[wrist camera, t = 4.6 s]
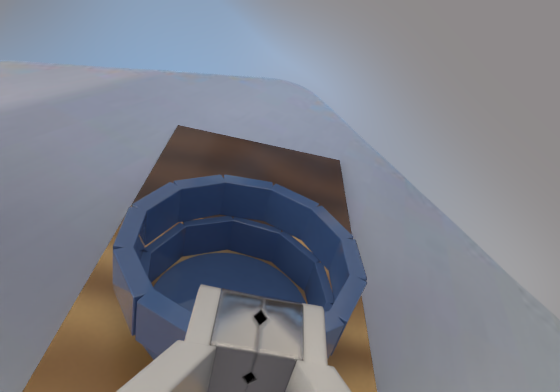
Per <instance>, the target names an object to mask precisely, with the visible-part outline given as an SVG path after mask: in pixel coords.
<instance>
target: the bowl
mask: <svg viewBox="0 0 560 392" xmlns="http://www.w3.org/2000/svg"><path fill="white" fill-rule="evenodd" d="M318 205H319V203H317V202H315V201H313V200H310V199H308V198H306V197H304V196H302V195H300V194H298V193H296V192H293V191H291V190H289V189H287V188H285V187H283V186H281V185H279V184H275V185H273V183H272V182H269V181H263V180H256V179H250V178H244V177H238V176H232V175H226V174H225V175H224V178H223V177H222V175H212V176H205V177H197V178H190V179H182V180H175V181H174V182H173V183H172V182H169V183H167V184H165V185H164V186H162V187H160V188H159V189H157V190H155V191H153V192H152V193H150V194H148V195H147V196H145V197H143V198H142V199H140V200H138V201H137V202H135V203H133V204H132V207H129V209H128V211H127V213H126V216H125V218H124V220H123V223H122V225H121V227H120V230H119V232H118V235H117V237H116V239H115V242H114V244H113V290H114V292H115V295H116V297H117V300H118V302H119V305H120V307H121V310H122V312H123V315H124V317H125V320H126V322H127V325H128V327H129V330H130V333H131V335H132V336H134V335H135V340H136V341H137V342H139V343H140V344H142V345H143V347H144V348H145V349H146V351H147V352H148V353H149V355H150V356H151V357H152V359H153V360H154V359H156V358H157V357H158V356H159V355H160V354H162V353H163V352H164V351H165V350H166V349H168V348H169V347H170V346H171V345H172V344H174V343H175V342H176V341H177V340H182V341H184V340H185V336H186V333H187V329H188V326H189V322H190V318H191V315H192V311H193V307H194V304H195V300H196V296H197V293H198V289H199V287H200V285H201V284H202V285H207V286H212V287H217V288H221V291H222V288H224V289H228V290H233V291H238V292H243V293H248V294H252V295H257V296H265V297H271V298H277V299H282V300H288V301H294V302H300V303H301V304H302V303H305V304H306V302H305V300H304V298H303V296H302V294H301V293H300V291H299V290H298V288H297V287H296V286H295V285H294V283H293V282H295V283H296V284H297V285H298V286H299V287H300V288H301V289H302V290H304V292H305V296H306V300H307V303H308V304H311V305H317V306H322V307H323V309H324V316H325V331H326V346H327V359H329V357H330V356H332V355H333V353H334V351H335V349H336V347H337V345H338V343H339V341H340V338H341V336H342V334H343V332H344V330H345V328H346V326H347V324H348V322H349V320H350V318H351V316H352V314H353V312H354V310H355V308H356V306H357V304H358V301H359V299H360V297H361V295H362V293H363V291H364V289H365V286H366V284H367V282H366V280H367V277H366V273H365V270H364V267H363V263H362V260H361V257H360V253H359V250H358V246H357V243H356V240H354V239H353V236H352V235H351V234H350V233H349V232H348V231H347V230H346V229H345V228H344V227H343V226H342V225H341V224H340V223H339V222H338V221H337V220H336V219H335V218H334V217H333V216H332V215H331V214H330V213H329V212H328V211H327V210H326V209H325V208H324V207H323V206H318ZM215 215H225V216H222V217H213V218H205V219H199V218H204V217H210V216H215ZM232 217H234V218H232ZM244 218H246V219H244ZM194 219H197V220H194ZM248 219H252V220H259V221H264V222H266V223H268V224H270V225H272V226H270V225H266V224H262V223H259V222H255V221H252V220H248ZM178 222H183V224H182V223H178ZM176 223H178V224H177V225H175V224H176ZM174 225H175V226H174ZM172 226H174V227H173V228H171V227H172ZM273 226H274V227H273ZM170 228H171V229H170ZM168 229H170V230H168ZM167 230H168V231H167ZM281 230H282V232H281ZM165 231H167V232H166V233H164V232H165ZM163 233H164V234H163ZM161 234H163V235H162V236H160V235H161ZM291 235H292V236H294V237H296V238H298V239H300V240H302V241H303V243H304V244H305V245H306V246H307V247H308V248H309V249H310V251H309V250H308V249H307V248H306V247H305V246H303V245H302V244H301V243H300V242H298V241H297V240H296V239H295V238H294V237H292V236H291ZM158 236H160V237H159V238H157V237H158ZM156 238H157V239H156ZM154 239H156V240H155V241H153V240H154ZM152 241H153V242H152ZM150 242H152V243H151V244H149V243H150ZM147 244H149V245H148V246H146V245H147ZM145 246H146V247H145ZM222 250H231V251H234V252H238V253H241V254H245V255H248V256H245V255H240V254H234V253H210V252H216V251H222ZM203 253H208V254H203ZM197 254H203V255H198V256H194V257H191V258H188V259H186V260H184V261H181V262H179V263H178V264H176V265H174V266H173V267H171V266H172V265H173V264H174V263H176V262H177V261H178V260H179V259H180V258H182V257H185V256H191V255H197ZM249 256H252V257H249ZM253 257H256V258H259V259H263V260H266V261H270V262H272V263H273V264H274V265H275V266H277V267H278V268H279V269H280V270H281V271H282V272H283V273H284V274H286V275H287V276H288V277H289V278H290V279H291V280H292V281H293V282H292V281H291V280H290V279H289V278H288V277H287V276H285V275H284V274H283V273H282V272H280V271H279V270H278V269H276V268H274V267H273V266H271V265H269V264H267V263H265V262H263V261H261V260H258V259H255V258H253ZM324 266H325V267H326V269H327V270H328V271H329V276H330V282H331V286H330V283H329V280H328V277H327V274H326V271H325V268H324ZM170 267H171V268H170ZM168 268H170V269H169V270H167V269H168ZM166 270H167V271H166ZM165 271H166V272H165ZM164 272H165V273H164ZM162 273H164V274H163V275H162V276H161V277H160V278H159V279H158V281H157V282H156V283H155V285H154V287H153V286H152V282H153V281H154V280H155V279H156V278H158V277H159V276H160V275H161V274H162ZM331 287H332V289H331ZM220 296H221V294H220Z"/></svg>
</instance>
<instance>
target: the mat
mask: <svg viewBox="0 0 560 392" xmlns="http://www.w3.org/2000/svg"><path fill="white" fill-rule="evenodd" d="M225 174H226V175H232V176H238V177H244V178H250V179H256V180H263V181H269V182H272V183H273V185H275V184H279V185H281V186H283V187H285V188H287V189H289V190H291V191H293V192H296V193H298V194H300V195H302V196H304V197H306V198H308V199H310V200H313V201H315V202H317V203H319V205H318V206H323V207H324V208H325V209H326V210H327V211H328V212H329V213H330V214H331V215H332V216H333V217H334V218H335V219H336V220H337V221H338V222H339V223H340V224H341V225H342V226H343V227H344V228H345V229H346V230H347V231H348V232H349V233H350V234H351V228H350V222H349V216H348V210H347V203H346V197H345V191H344V185H343V179H342V173H341V166H340V160H336V159H331V158H327V157H322V156H317V155H313V154H308V153H304V152H299V151H294V150H290V149H285V148H281V147H276V146H271V145H267V144H262V143H258V142H253V141H249V140H244V139H239V138H235V137H230V136H226V135H221V134H216V133H212V132H207V131H203V130H198V129H193V128H189V127H184V126H180V125H178V126H177V128H176V130H175V131H174V133H173V135H172V137H171V138H170V140H169V142H168V143H167V145H166V147H165V149H164V150H163V152H162V154H161V155H160V157H159V159H158V161H157V162H156V164H155V166H154V167H153V169H152V171H151V173H150V174H149V176H148V178H147V179H146V181H145V183H144V185H143V186H142V188H141V190H140V191H139V193H138V195H137V196H136V198H135V200H134V202H133V203H135V202H137V201H138V200H140V199H142V198H143V197H145V196H147V195H148V194H150V193H152V192H153V191H155V190H157V189H159V188H160V187H162V186H164V185H165V184H167V183H169V182H172V183H173V182H174V181H175V180H182V179H190V178H197V177H205V176H212V175H222V177H223V178H224V175H225ZM133 203H132V204H133ZM222 216H225V215H215V216H210V217H204V219H205V218H213V217H222ZM232 218H234V217H232ZM244 219H246V218H244ZM248 220H252V219H248ZM252 221H255V222H259V223H262V224H266V225H270V224H268V223H266V222H264V221H259V220H252ZM270 226H272V225H270ZM273 227H274V226H273ZM281 232H282V230H281ZM351 235H352V234H351ZM291 236H292V235H291Z"/></svg>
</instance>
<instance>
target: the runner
mask: <svg viewBox="0 0 560 392" xmlns="http://www.w3.org/2000/svg"><path fill="white" fill-rule="evenodd" d="M131 207H132V205H131ZM125 216H126V215H125ZM124 218H125V217H124ZM199 219H204V218H199ZM123 220H124V219H123ZM194 220H197V219H194ZM122 223H123V221H122V222H121V224H120V226H119V227H118V229H117V231H116V233H115V234H114V236H113V238H112V239H111V241H110V243H109V244H108V246H107V248H106V250H105V251H104V253H103V255H102V256H101V258H100V260H99V262H98V263H97V265H96V267H95V268H94V270H93V272H92V274H91V275H90V277H89V279H88V280H87V282H86V284H85V286H84V287H83V289H82V291H81V292H80V294H79V296H78V298H77V299H76V301H75V303H74V304H73V306H72V308H71V310H70V311H69V313H68V315H67V316H66V318H65V320H64V322H63V323H62V325H61V327H60V328H59V330H58V332H57V334H56V335H55V337H54V339H53V340H52V342H51V344H50V346H49V347H48V349H47V351H46V352H45V354H44V356H43V357H42V359H41V361H40V363H39V364H38V366H37V368H36V369H35V371H34V373H33V375H32V376H31V378H30V380H29V381H28V383H27V385H26V387H25V388H24V390H23V392H116V391H117V390H119V389H120V388H121V387H122V386H123V385H125V384H126V383H127V382H128V381H129V380H131V379H132V378H133V377H134V376H135V375H137V374H138V373H139V372H140V371H141V370H143V369H144V368H145V367H146V366H147V365H149V364H150V363H151V362H152V361H153V359H152V357H151V356H150V355H149V353H148V352H147V351H146V349H145V348H144V347H143V345H142V344H140V343H139V342H137V341H136V340H135V335H134V336H132V335H131V333H130V330H129V327H128V325H127V322H126V320H125V317H124V315H123V312H122V310H121V307H120V305H119V302H118V300H117V297H116V295H115V292H114V290H113V244H114V242H115V239H116V237H117V235H118V232H119V230H120V227H121V225H122ZM178 223H182V224H183V222H178ZM178 223H176V224H175V225H177V224H178ZM175 225H174V226H175ZM174 226H172V227H171V228H173V227H174ZM171 228H170V229H171ZM170 229H168V230H170ZM168 230H167V231H168ZM167 231H165V232H164V233H166V232H167ZM164 233H163V234H164ZM163 234H161V235H160V236H162V235H163ZM160 236H158V237H157V238H159V237H160ZM292 237H294V236H292ZM157 238H156V239H157ZM294 238H295V239H296V240H297V241H298V242H300V243H301V244H302V245H303V246H305V247H306V248H307V249H308V250H309V251H310V249H309V248H308V247H307V246H306V245H305V244H304V243H303V241H302V240H300V239H298V238H296V237H294ZM156 239H154V240H153V241H155V240H156ZM153 241H152V242H153ZM152 242H150V243H149V244H151V243H152ZM149 244H147V245H146V246H148V245H149ZM146 246H145V247H146ZM210 253H234V254H240V255H245V254H241V253H238V252H234V251H231V250H222V251H216V252H210ZM203 254H208V253H203ZM203 254H197V255H191V256H185V257H182V258H180V259H179V260H178V261H177V262H176V263H174V264H173V265H172V266H171V267H173V266H174V265H176V264H178V263H179V262H181V261H184V260H186V259H188V258H191V257H194V256H198V255H203ZM245 256H248V255H245ZM249 257H252V256H249ZM253 258H255V259H258V260H261V261H263V262H265V263H267V264H269V265H271V266H273V267H274V268H276V269H278V270H279V271H280V272H282V271H281V270H280V269H279V268H278V267H277V266H275V265H274V264H273V263H272V262H270V261H266V260H263V259H259V258H256V257H253ZM171 267H170V268H171ZM170 268H168V269H167V270H169V269H170ZM324 268H325V271H326V274H327V277H328V280H329V283H330V286H331V282H330V276H329V271H328V270H327V269H326V267H325V266H324ZM167 270H166V271H167ZM166 271H165V272H166ZM165 272H164V273H165ZM164 273H162V274H161V275H160V276H159V277H158V278H156V279H155V280H154V281H153V282H152V286H153V287H154V285H155V283H156V282H157V281H158V279H159V278H160V277H161V276H162V275H163V274H164ZM282 273H283V272H282ZM283 274H284V273H283ZM284 275H285V276H287V275H286V274H284ZM287 277H288V276H287ZM288 278H289V277H288ZM289 279H290V278H289ZM290 280H291V279H290ZM291 281H292V280H291ZM292 282H293V281H292ZM293 283H294V285H295V286H296V287H297V288H298V290H299V291H300V293H301V294H302V296H303V298H304V300H305V302H306V304H308V303H307V300H306V296H305V292H304V290H302V289H301V288H300V287H299V286H298V285H297V284H296V283H295V282H293ZM331 289H332V287H331ZM327 361H328V366H333V367H335V369H336V370H337V372H338V373H339V375H340V376H341V377H342V379H343V380H344V382H345V383H346V385H347V386H348V387H349V389H350V390H351V392H377V389H376V383H375V377H374V370H373V364H372V358H371V352H370V346H369V339H368V333H367V327H366V321H365V315H364V309H363V302H362V296H361V297H360V299H359V301H358V304H357V306H356V308H355V310H354V312H353V314H352V316H351V318H350V320H349V322H348V324H347V326H346V328H345V330H344V332H343V334H342V336H341V338H340V341H339V343H338V345H337V347H336V349H335V351H334V353H333V355H332V356H330V357H329V359H327Z"/></svg>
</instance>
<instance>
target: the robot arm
mask: <svg viewBox="0 0 560 392" xmlns="http://www.w3.org/2000/svg"><path fill="white" fill-rule="evenodd" d="M220 294H221V296H220ZM116 392H351V390H350V389H349V387H348V386H347V385H346V383H345V382H344V380H343V379H342V377H341V376H340V375H339V373H338V372H337V370H336V369H335V367H333V366H328V361H327V346H326V331H325V316H324V309H323V307H322V306H317V305H311V304H305V303H302V304H301V303H300V302H294V301H288V300H282V299H277V298H271V297H265V296H257V295H252V294H248V293H243V292H238V291H233V290H228V289H224V288H222V291H221V288H217V287H212V286H207V285H202V284H201V285H200V287H199V289H198V293H197V296H196V300H195V304H194V307H193V311H192V315H191V318H190V322H189V326H188V329H187V333H186V336H185V340H184V341H182V340H177V341H176V342H175V343H174V344H172V345H171V346H170V347H169V348H168V349H166V350H165V351H164V352H163V353H162V354H160V355H159V356H158V357H157V358H156V359H154V360H153V361H152V362H151V363H150V364H149V365H147V366H146V367H145V368H144V369H143V370H141V371H140V372H139V373H138V374H137V375H135V376H134V377H133V378H132V379H131V380H129V381H128V382H127V383H126V384H125V385H123V386H122V387H121V388H120V389H119V390H117V391H116Z"/></svg>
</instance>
